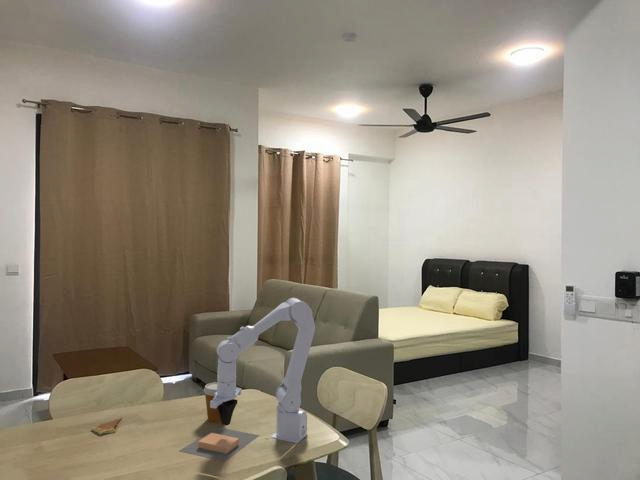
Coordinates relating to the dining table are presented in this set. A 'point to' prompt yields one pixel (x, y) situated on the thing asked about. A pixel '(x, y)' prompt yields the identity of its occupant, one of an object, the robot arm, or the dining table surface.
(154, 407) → the dining table surface
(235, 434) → the rubber mat
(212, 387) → the disposable coffee cup
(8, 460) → the dining table surface
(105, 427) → the pizza slice
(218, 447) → the terracotta tile
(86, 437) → the dining table surface
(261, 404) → the dining table surface
